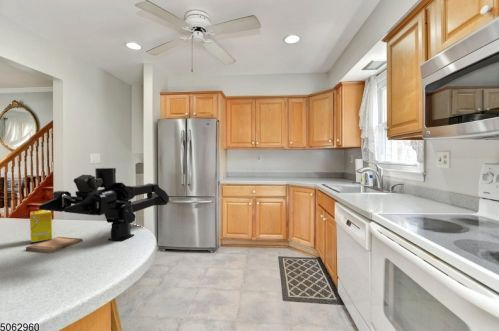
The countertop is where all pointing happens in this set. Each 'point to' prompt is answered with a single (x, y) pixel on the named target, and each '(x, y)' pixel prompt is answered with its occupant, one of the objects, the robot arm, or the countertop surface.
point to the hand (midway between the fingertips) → (51, 208)
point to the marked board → (54, 244)
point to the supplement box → (40, 226)
